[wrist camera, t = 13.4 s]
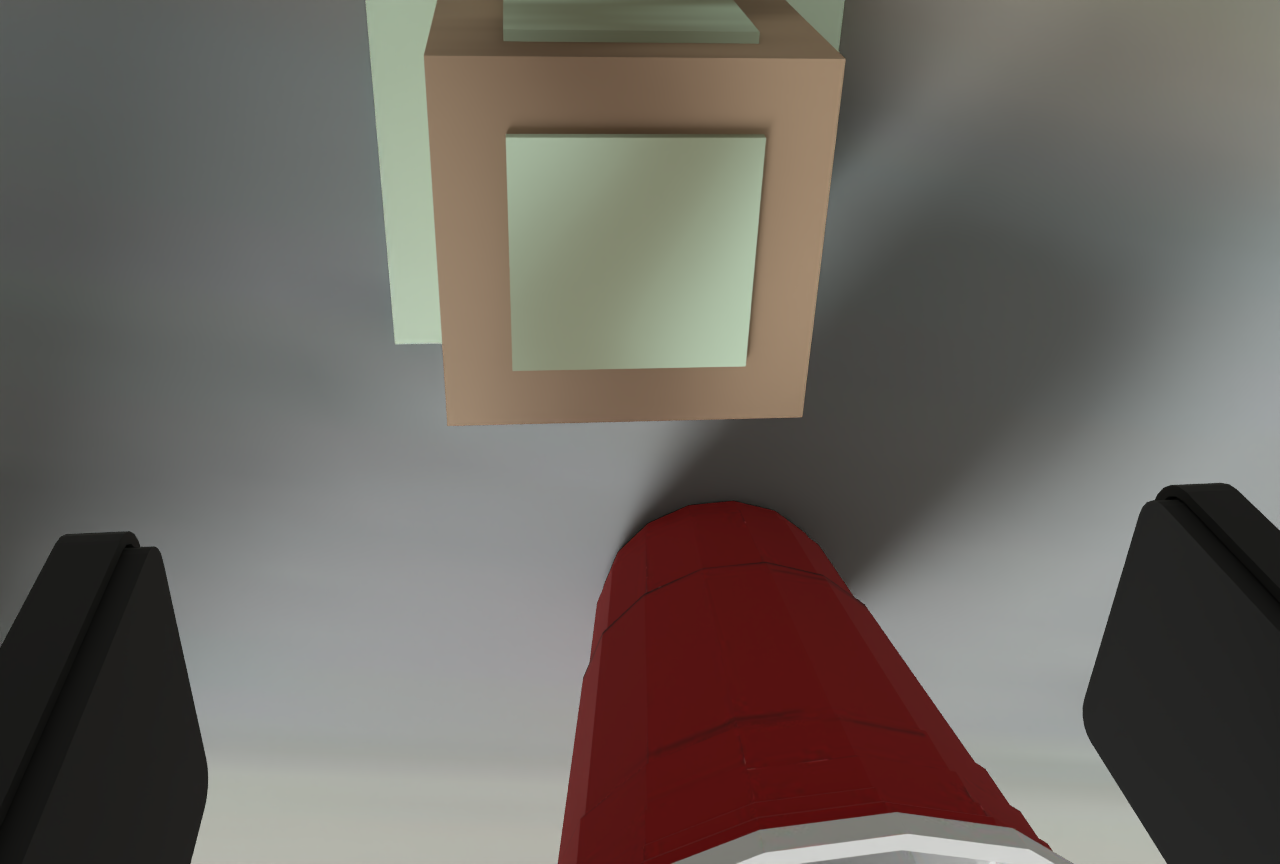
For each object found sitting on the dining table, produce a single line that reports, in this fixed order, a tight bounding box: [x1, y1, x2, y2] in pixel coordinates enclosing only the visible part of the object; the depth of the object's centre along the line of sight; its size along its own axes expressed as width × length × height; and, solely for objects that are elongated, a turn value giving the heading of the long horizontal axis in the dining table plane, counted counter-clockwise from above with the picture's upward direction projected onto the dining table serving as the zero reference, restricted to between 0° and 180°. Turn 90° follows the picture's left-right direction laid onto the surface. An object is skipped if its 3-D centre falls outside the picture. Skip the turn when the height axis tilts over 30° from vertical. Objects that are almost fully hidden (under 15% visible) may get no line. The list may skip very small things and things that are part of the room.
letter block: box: [424, 0, 846, 426], centre depth 20 cm, size 6×6×6 cm
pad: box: [365, 0, 845, 344], centre depth 23 cm, size 9×9×1 cm
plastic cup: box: [558, 501, 1073, 864], centre depth 25 cm, size 11×11×12 cm
